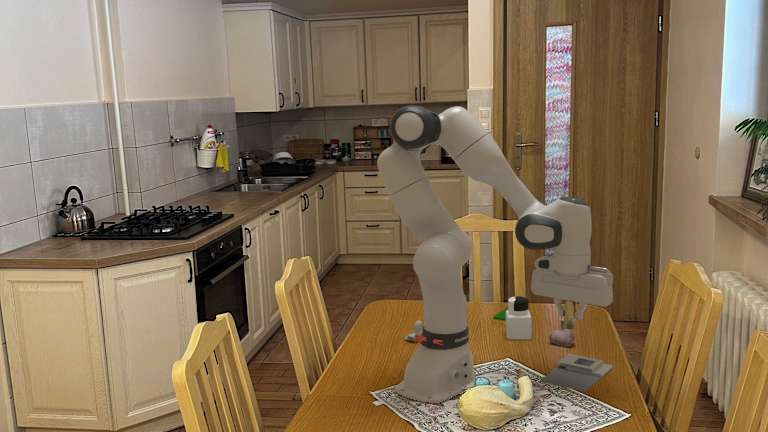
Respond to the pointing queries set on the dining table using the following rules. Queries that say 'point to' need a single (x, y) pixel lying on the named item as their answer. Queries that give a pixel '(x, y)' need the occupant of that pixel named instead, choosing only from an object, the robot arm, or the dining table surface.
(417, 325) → the pacifier
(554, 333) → the garlic bulb
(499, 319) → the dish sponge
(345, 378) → the dining table surface
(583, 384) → the mat
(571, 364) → the frame
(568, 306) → the brass pin
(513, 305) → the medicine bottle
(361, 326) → the dining table surface
